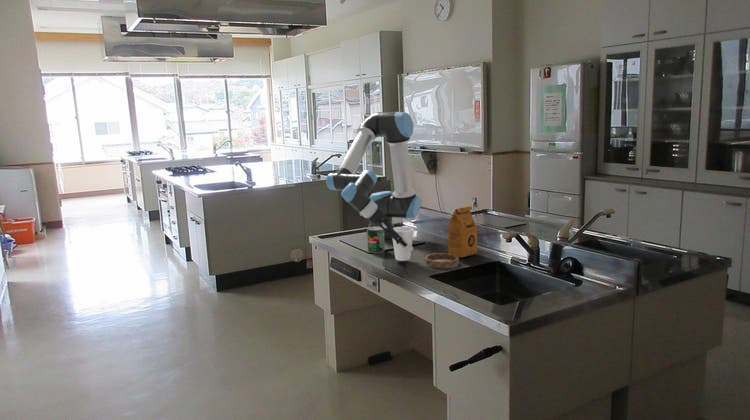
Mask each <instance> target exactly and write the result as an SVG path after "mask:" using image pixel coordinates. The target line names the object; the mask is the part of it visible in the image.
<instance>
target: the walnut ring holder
mask: <svg viewBox="0 0 750 420" xmlns="http://www.w3.org/2000/svg"><path fill="white" fill-rule="evenodd" d="M424 263H425V266H426V267H429V268H432V269H440V270H443V269H446V270H447V269H453V268H456V267H458V266H459V263H460V257H458V256H456V255H453V254H449V253H445V252H439V253H438V252H435V253H430V254H426V256H424Z"/></svg>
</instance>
